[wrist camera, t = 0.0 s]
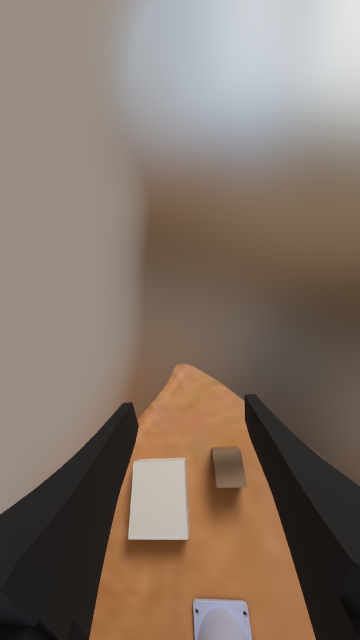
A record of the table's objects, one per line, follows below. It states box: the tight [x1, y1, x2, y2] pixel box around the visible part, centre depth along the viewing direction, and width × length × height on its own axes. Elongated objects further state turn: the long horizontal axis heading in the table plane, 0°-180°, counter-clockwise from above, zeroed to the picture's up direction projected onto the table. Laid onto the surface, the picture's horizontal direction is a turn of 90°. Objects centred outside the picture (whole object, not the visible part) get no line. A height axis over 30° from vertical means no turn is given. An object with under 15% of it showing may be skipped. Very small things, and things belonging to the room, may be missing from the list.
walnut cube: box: [212, 446, 247, 488], centre depth 32 cm, size 5×5×5 cm
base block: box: [128, 458, 190, 540], centre depth 32 cm, size 10×10×3 cm
